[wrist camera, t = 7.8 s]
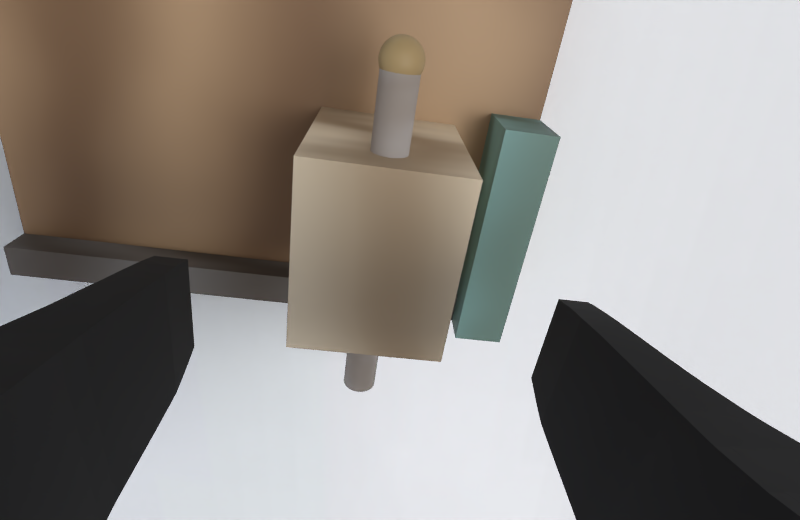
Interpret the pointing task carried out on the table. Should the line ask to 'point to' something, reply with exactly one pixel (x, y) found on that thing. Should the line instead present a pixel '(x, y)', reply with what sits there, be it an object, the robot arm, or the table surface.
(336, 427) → the table surface
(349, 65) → the board
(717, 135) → the table surface
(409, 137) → the beige block with rod
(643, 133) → the table surface
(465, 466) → the table surface
